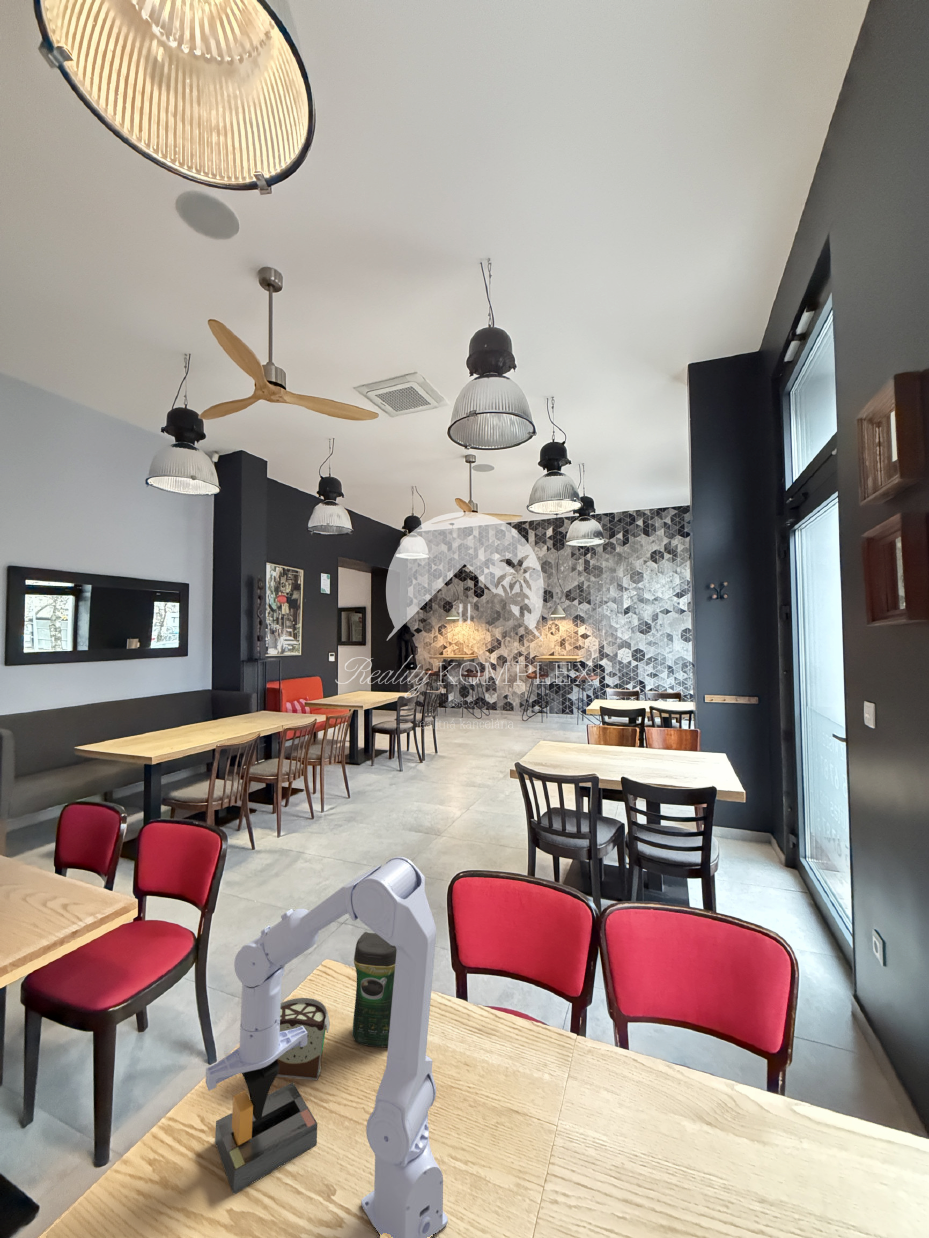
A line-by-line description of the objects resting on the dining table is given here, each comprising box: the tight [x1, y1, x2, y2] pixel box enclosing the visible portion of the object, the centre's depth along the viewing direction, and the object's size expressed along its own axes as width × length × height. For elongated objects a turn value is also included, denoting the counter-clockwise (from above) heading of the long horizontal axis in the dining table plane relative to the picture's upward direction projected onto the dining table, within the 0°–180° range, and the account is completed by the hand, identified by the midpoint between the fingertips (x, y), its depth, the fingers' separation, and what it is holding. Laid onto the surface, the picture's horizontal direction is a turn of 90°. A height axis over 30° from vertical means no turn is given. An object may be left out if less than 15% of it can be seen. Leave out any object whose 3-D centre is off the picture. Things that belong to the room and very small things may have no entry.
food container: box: [276, 997, 330, 1081], centre depth 95 cm, size 12×6×10 cm, turn 84°
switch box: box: [214, 1081, 318, 1195], centre depth 79 cm, size 10×12×3 cm
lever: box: [231, 1089, 253, 1147], centre depth 77 cm, size 4×2×7 cm, turn 39°
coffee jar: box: [351, 931, 397, 1048], centre depth 103 cm, size 10×8×19 cm
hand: (256, 1114), depth 78 cm, fingers closed
